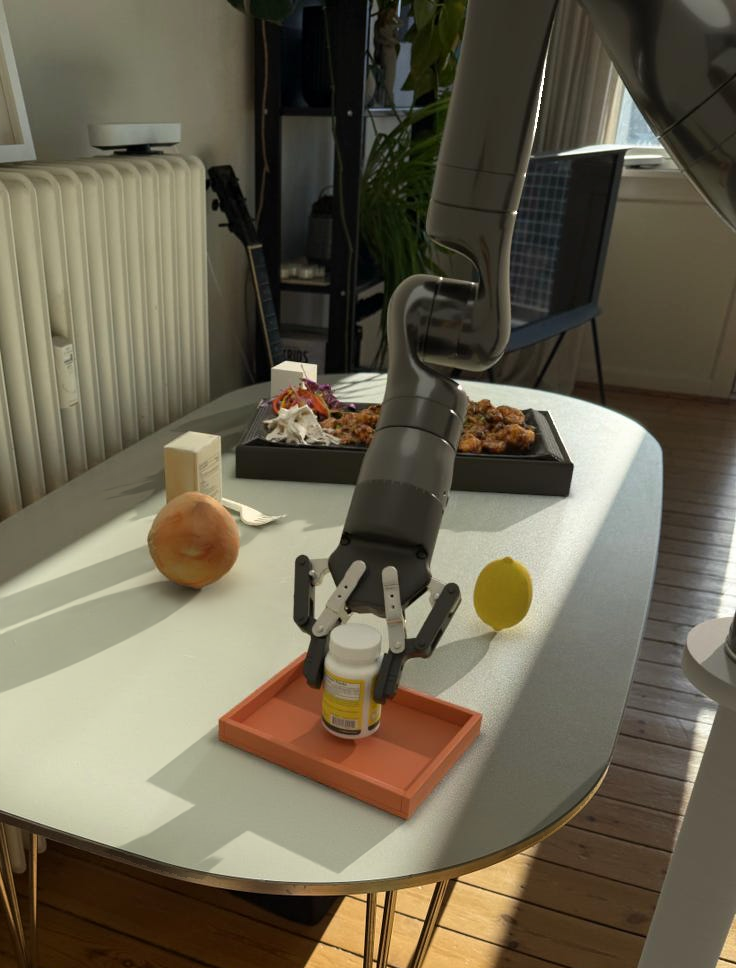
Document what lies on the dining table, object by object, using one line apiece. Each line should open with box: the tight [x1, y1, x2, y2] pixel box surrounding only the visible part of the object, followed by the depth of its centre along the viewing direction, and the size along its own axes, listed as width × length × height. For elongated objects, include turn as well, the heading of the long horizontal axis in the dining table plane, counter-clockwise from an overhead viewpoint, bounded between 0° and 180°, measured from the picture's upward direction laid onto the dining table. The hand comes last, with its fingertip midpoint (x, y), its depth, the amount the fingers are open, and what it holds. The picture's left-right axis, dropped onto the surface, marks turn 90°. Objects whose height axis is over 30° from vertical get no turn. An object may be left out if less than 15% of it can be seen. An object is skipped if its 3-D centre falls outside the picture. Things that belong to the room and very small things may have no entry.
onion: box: [146, 491, 241, 589], centre depth 99 cm, size 10×10×10 cm
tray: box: [217, 651, 483, 821], centre depth 76 cm, size 17×13×2 cm
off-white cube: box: [270, 360, 318, 398], centre depth 161 cm, size 6×6×6 cm
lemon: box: [472, 555, 534, 632], centre depth 90 cm, size 6×6×8 cm
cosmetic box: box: [163, 430, 223, 506], centre depth 108 cm, size 6×4×12 cm
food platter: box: [234, 364, 575, 497], centre depth 135 cm, size 45×25×10 cm, turn 82°
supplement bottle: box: [322, 622, 384, 739], centre depth 74 cm, size 5×5×8 cm
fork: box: [222, 497, 288, 526], centre depth 119 cm, size 3×20×2 cm, turn 44°
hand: (346, 693), depth 73 cm, fingers closed on supplement bottle, 4 cm apart
